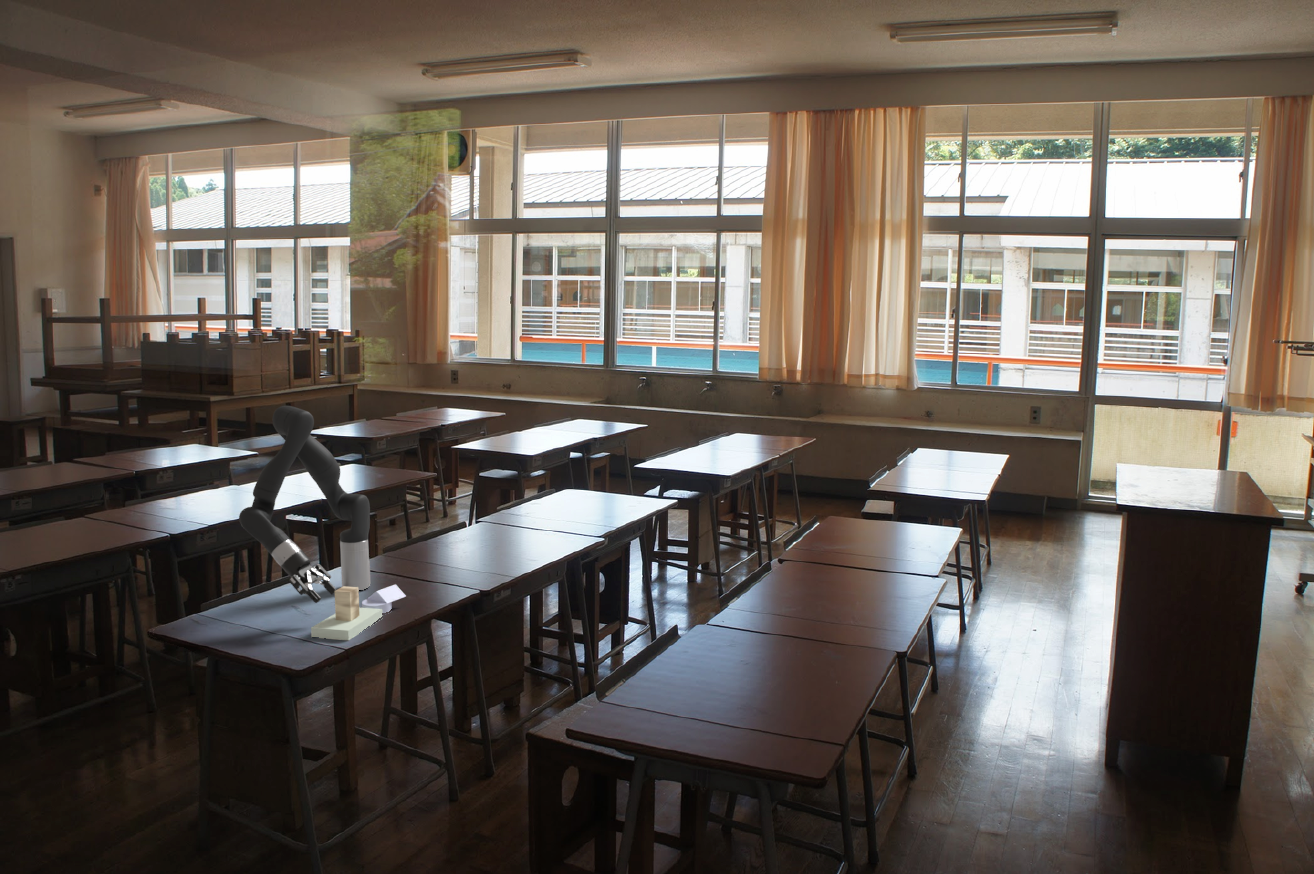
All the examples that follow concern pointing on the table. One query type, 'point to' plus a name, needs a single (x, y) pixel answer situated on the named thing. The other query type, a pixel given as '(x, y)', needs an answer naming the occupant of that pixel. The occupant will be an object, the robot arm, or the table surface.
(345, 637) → the sage board
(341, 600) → the birch block
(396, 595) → the wedge on round base
